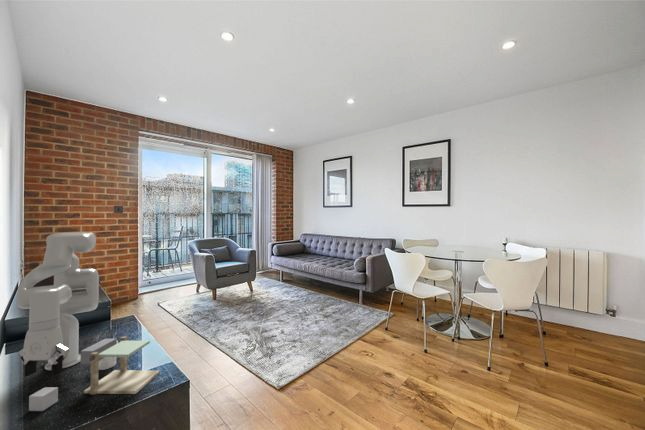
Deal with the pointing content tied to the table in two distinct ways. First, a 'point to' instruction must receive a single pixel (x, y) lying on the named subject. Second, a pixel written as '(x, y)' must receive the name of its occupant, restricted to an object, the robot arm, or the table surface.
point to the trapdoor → (112, 349)
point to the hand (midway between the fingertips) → (43, 374)
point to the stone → (43, 399)
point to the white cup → (107, 362)
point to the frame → (118, 378)
